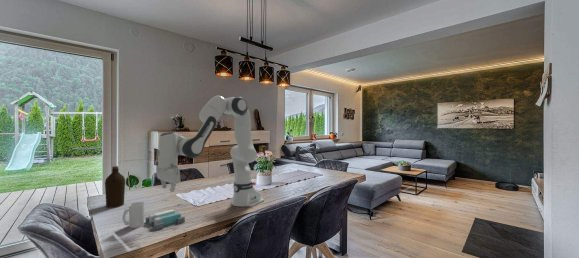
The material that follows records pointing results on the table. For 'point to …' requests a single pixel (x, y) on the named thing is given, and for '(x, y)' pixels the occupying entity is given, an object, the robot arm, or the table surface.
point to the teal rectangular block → (167, 219)
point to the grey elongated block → (160, 214)
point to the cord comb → (161, 225)
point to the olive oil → (115, 188)
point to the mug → (135, 215)
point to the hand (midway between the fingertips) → (168, 189)
